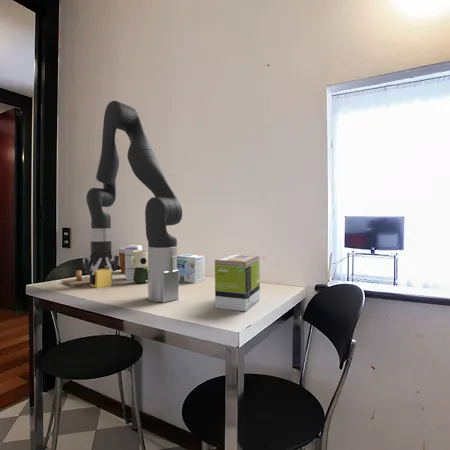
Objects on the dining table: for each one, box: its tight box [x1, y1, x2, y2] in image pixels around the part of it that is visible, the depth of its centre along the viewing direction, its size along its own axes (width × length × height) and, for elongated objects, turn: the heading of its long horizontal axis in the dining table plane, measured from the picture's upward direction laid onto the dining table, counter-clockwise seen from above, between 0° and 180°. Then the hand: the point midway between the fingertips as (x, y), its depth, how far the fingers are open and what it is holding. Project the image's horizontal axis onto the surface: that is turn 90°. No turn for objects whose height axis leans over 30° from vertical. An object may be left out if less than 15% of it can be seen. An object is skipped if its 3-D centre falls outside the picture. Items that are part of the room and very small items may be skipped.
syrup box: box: [124, 244, 143, 281], centre depth 134 cm, size 6×6×14 cm
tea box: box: [214, 253, 261, 312], centre depth 97 cm, size 15×10×15 cm
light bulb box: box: [177, 253, 206, 284], centre depth 132 cm, size 11×7×11 cm, turn 56°
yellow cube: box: [90, 268, 112, 289], centre depth 121 cm, size 6×6×6 cm
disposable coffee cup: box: [117, 246, 126, 275], centre depth 149 cm, size 10×10×12 cm
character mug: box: [131, 249, 148, 284], centre depth 127 cm, size 11×7×13 cm, turn 149°
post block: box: [62, 269, 91, 288], centre depth 125 cm, size 12×10×5 cm
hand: (101, 283), depth 121 cm, fingers closed on yellow cube, 5 cm apart
